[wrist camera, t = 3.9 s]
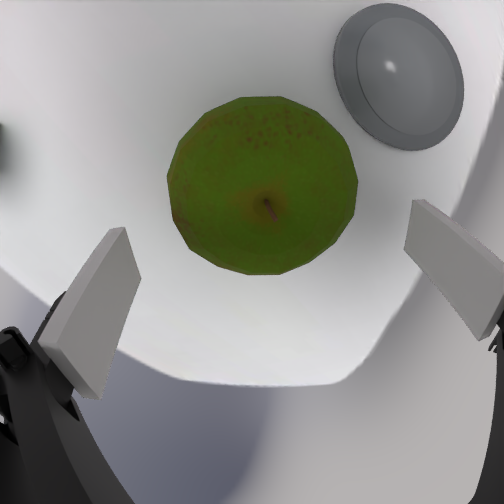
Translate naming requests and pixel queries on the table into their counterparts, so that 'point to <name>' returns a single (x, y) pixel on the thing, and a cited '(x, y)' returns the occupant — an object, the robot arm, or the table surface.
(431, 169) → the table surface
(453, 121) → the slate plate
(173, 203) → the apple
